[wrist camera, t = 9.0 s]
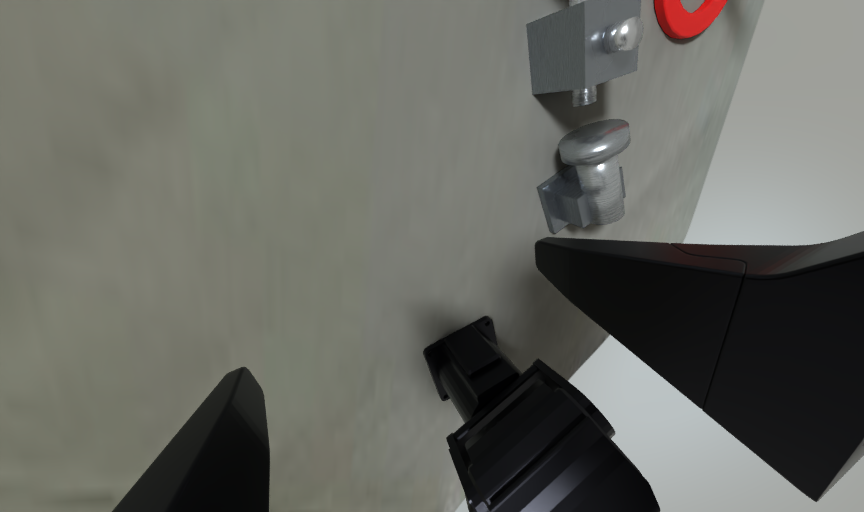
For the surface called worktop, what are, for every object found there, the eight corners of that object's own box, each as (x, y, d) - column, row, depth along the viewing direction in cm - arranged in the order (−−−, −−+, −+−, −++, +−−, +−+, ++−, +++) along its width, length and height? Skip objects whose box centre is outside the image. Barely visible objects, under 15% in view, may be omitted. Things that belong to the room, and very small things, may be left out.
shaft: (601, 193, 27) (660, 206, 23) (550, 231, 27) (601, 252, 22) (588, 113, 24) (655, 111, 19) (527, 154, 23) (583, 162, 19)
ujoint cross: (577, 97, 23) (655, 90, 18) (533, 113, 22) (603, 111, 17) (574, -13, 20) (667, -55, 15) (523, 0, 19) (605, -41, 14)
